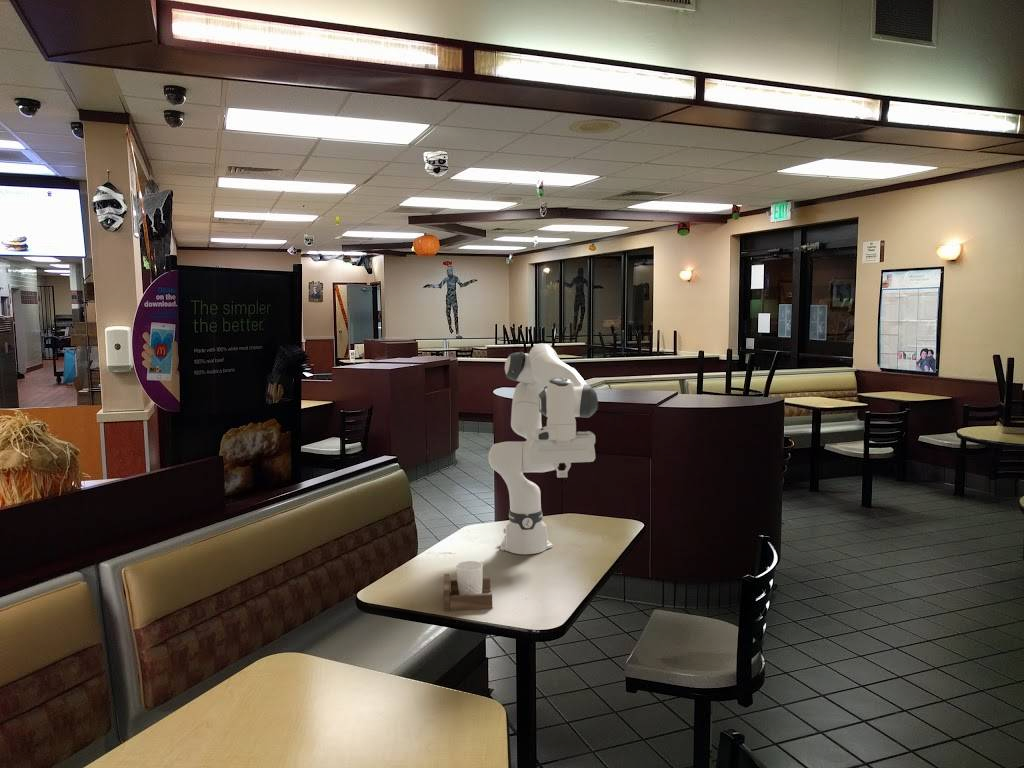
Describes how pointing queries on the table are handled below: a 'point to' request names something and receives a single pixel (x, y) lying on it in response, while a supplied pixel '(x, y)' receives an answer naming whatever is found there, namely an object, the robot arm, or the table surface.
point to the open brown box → (466, 596)
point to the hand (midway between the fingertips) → (562, 477)
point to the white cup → (469, 577)
